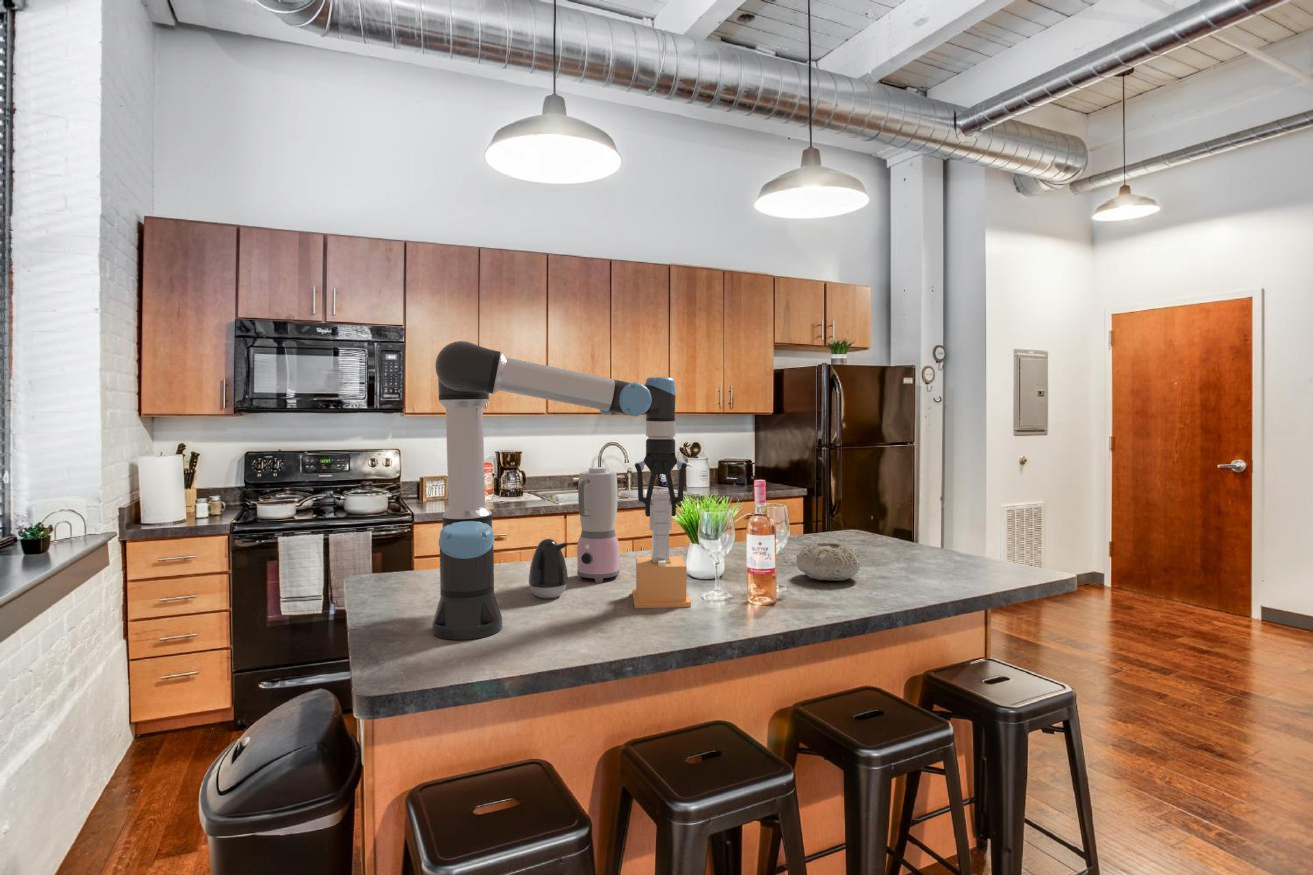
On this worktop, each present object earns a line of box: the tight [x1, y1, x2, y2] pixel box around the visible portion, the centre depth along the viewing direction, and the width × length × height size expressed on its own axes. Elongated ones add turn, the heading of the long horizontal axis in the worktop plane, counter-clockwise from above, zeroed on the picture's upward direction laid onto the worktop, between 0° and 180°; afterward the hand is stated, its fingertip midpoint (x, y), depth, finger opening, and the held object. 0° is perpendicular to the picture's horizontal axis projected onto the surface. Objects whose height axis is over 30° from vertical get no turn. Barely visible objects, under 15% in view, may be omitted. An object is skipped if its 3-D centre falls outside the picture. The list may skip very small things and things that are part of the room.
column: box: [650, 490, 670, 564], centre depth 185 cm, size 6×4×22 cm
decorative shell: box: [796, 541, 861, 582], centre depth 208 cm, size 18×18×10 cm
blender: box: [576, 466, 620, 583], centre depth 208 cm, size 16×12×32 cm
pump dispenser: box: [528, 538, 569, 600], centre depth 189 cm, size 10×10×15 cm
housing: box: [631, 555, 692, 609], centre depth 185 cm, size 14×14×11 cm
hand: (660, 528), depth 185 cm, fingers closed on column, 4 cm apart
